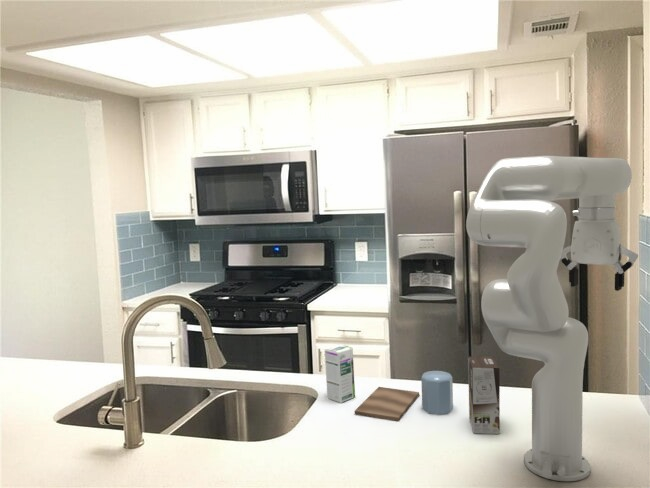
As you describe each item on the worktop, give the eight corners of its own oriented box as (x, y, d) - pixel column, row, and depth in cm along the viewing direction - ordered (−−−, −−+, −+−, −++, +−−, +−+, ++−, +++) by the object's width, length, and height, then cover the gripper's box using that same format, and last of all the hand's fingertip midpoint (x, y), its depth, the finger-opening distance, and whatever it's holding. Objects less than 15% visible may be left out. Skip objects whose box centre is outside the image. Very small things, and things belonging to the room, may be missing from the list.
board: (398, 421, 137) (398, 417, 137) (354, 414, 143) (354, 410, 143) (419, 395, 153) (419, 392, 153) (378, 390, 159) (378, 386, 159)
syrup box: (341, 403, 150) (338, 352, 149) (326, 398, 154) (324, 348, 153) (355, 397, 154) (353, 347, 152) (340, 392, 158) (338, 343, 157)
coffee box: (500, 434, 128) (500, 367, 126) (472, 433, 129) (471, 367, 127) (495, 418, 137) (494, 355, 135) (468, 417, 138) (467, 355, 136)
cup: (448, 416, 139) (447, 382, 138) (419, 412, 142) (418, 378, 141) (454, 405, 146) (454, 372, 145) (427, 401, 149) (426, 369, 148)
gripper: (553, 216, 131) (552, 286, 132) (633, 216, 119) (632, 294, 121) (564, 214, 136) (563, 282, 138) (642, 214, 124) (641, 288, 126)
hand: (595, 287), depth 129 cm, fingers open, 9 cm apart
